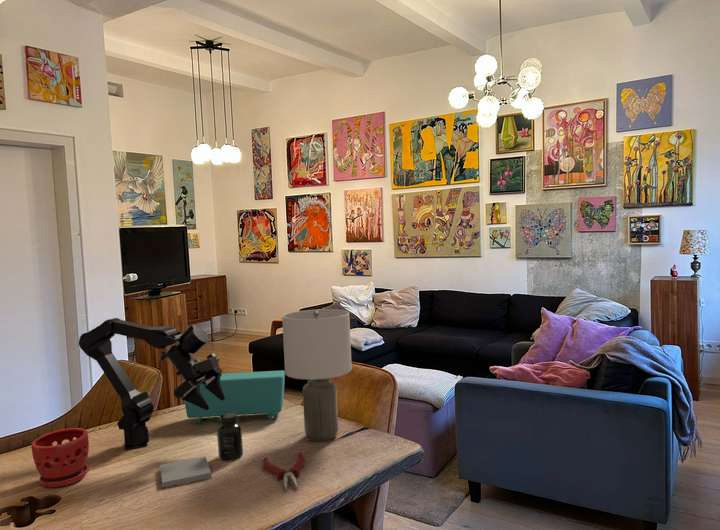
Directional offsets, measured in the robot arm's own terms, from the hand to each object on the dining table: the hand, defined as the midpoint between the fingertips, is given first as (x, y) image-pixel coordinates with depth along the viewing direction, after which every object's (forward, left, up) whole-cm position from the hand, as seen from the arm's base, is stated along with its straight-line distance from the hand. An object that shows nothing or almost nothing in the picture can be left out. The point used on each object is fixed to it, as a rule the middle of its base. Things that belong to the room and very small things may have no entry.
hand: (216, 404), depth 162 cm
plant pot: (-41, -1, -14) cm, 43 cm away
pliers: (+12, -25, -14) cm, 32 cm away
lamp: (+30, -5, -14) cm, 34 cm away
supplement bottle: (+2, -7, -14) cm, 16 cm away
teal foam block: (+10, +27, -14) cm, 32 cm away
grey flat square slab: (-11, -13, -14) cm, 22 cm away
